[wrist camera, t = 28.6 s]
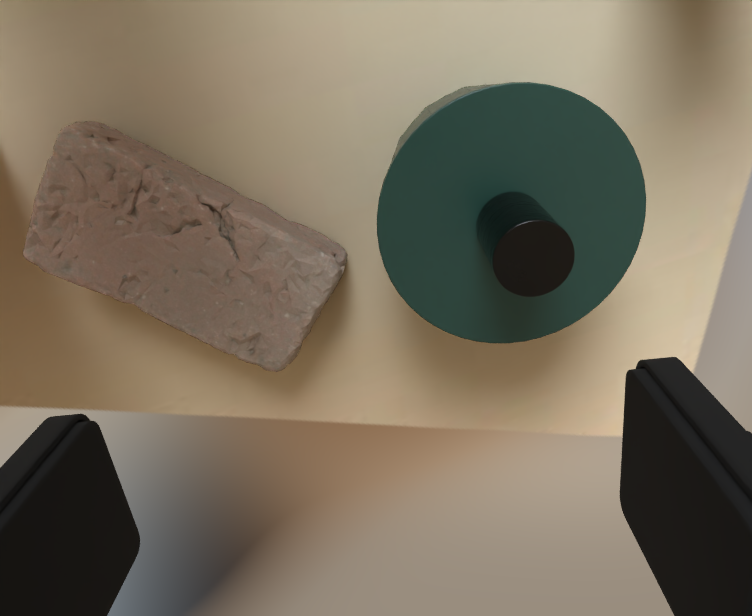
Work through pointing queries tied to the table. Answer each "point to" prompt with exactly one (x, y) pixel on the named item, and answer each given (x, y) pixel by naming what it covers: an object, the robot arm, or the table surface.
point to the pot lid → (511, 212)
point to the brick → (179, 246)
